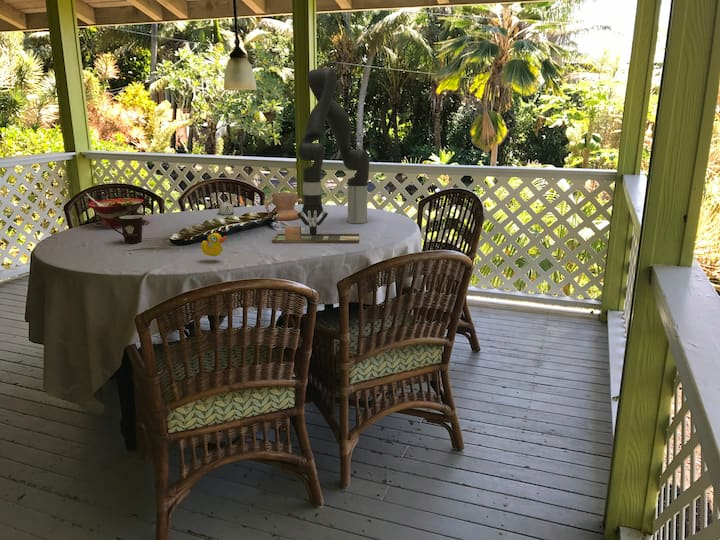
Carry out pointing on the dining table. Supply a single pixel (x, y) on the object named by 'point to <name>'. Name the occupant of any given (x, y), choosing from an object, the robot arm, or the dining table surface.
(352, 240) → the flat tray
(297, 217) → the ceramic jug
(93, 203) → the stew
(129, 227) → the coffee mug
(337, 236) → the trap pads
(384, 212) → the dining table surface
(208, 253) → the duckling
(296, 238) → the terracotta block
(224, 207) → the grey rounded lump
